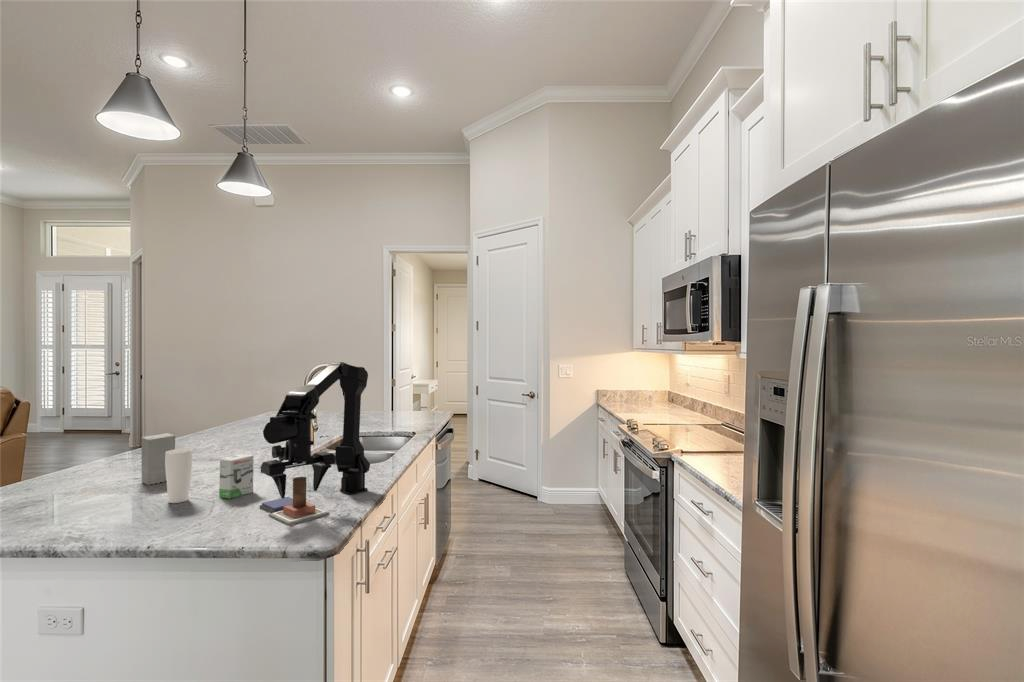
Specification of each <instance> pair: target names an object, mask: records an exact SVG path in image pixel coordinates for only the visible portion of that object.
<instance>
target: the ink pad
mask: <svg viewBox="0 0 1024 682" xmlns="http://www.w3.org/2000/svg"><path fill="white" fill-rule="evenodd" d="M290 504H293V497H290V496H285V498H284V499H283V498H281V497H280V498H276V499H273V500H268V501H263V502H261V504H260V505H259V509H261V510H263V511H265V512H268V513H269V512H270V513H269V514H271V513H275V512H279V511H283V506H286V505H290Z"/></svg>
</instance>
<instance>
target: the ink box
mask: <svg viewBox="0 0 1024 682" xmlns="http://www.w3.org/2000/svg"><path fill="white" fill-rule="evenodd" d="M218 483H219V484H218V485H219V489H218V490H219V491H218V493H219V494H218V497H219V498H222V499H223V498H224V499H229V500H230V499H231V498H232V499H235V498H238V497H240V496H241V497H242V496H244V494H245V495H248V494H251V493H253V492H254V455H250V454H245V453H243V454H241V453H240V454H238V455H236V454H235V455H231V456H226V457H221V458H220V460H219V482H218ZM234 497H235V498H234Z"/></svg>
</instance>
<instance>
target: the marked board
mask: <svg viewBox="0 0 1024 682" xmlns="http://www.w3.org/2000/svg"><path fill="white" fill-rule="evenodd" d="M329 514H330V512H329V511H327V510H324V509H322V508H319V507H317V506H315V513H312V514H309V515H305V516H301V517H297V518H292V517H290V516H288V515H286V514H283V511H279V512H275V513H268V517H269V516H270V517H269V518H271V519H274V520H276V521H278V522H280V523H282V524H284V523H285V524H284V525H286V524H287V526H288V525H290V526H293V524H294V525H297V524H301V523H304V522H307V521H312V520H315V519H318V518H322V516H323V517H326V516H330V515H329ZM325 515H326V516H325ZM296 523H297V524H296Z"/></svg>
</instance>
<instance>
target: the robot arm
mask: <svg viewBox="0 0 1024 682" xmlns="http://www.w3.org/2000/svg"><path fill="white" fill-rule="evenodd" d="M368 379H369V373H368V371H367V370H366V368H365V367H363V366H355V365H351V364H348V363H346V362H341V361H340V362H339V361H337V362H336V361H332V362H330V363H329V364H328V365H327V367H325V369H324V370H322V371H321V372H320V373H318V374H317V376H315V377H313V379H312V380H310V381H309V382H308V383H307V384H305V385H302V386H299V387H296V388H294V389H292V390H290V391H289V392H287V393H286V395H285V397H284V400H283V402H281V406H280V407H279V409H278V411H277V413H276V416H270V417H269V422H267V423H266V424H265V426H264V428H263V431H262V435H263V438H264V440H265V441H266V442H267V443H268V444H271V445H274V444H278V445H274V446H271V457H272V460H266V461H263V462H262V464H261V465H260V473H261V474H263V475H265V476H267V477H271V478H272V479H273V481H274V483H275V485H276V488H277V491H278V493H279V495H280V498H283V499H284V498H285V497H286V490H287V489H286V486H287V474H286V473H284V472H286V470H287V469H288V470H289V469H293V468H298V467H303V466H308V465H311V467H312V469H313V478H312V481H313V482H312V485H313V488H312V489H313V491H314V492H317V491H318V490H319V487H320V484H321V483H322V481H323V479H324V477H325V475H326V473H327V472H328V470H329V469H330V468H332V465H336V466H337V467H336V468H337V472H339V473H342V477H341V479H340V480H341V481H340V483H341V484H340V489H339V491H340V492H342V493H346V494H348V495H354V494H357V493H362V492H365V491H368V490H369V489H368V488H367V487H366V482H365V481H366V473H368V472H369V471H370V469H371V463H370V462H369V460H368V459H367V457H365V450H364V449H365V448H364V446H363V445H362V442H361V441H360V430H361V429H360V426H361V423H360V422H361V403H362V402H361V400H362V394H363V393H364V390H365V389H366V388H367V384H368ZM338 380H339V386H340V388H341V390H342V392H343V394H344V400H343V401H344V404H343V405H344V406H343V408H344V409H343V423H342V424H343V425H342V426H343V428H342V429H343V430H342V440H341V442H340V443H339V445H336V446H335V451H334V452H335V453H333V452H329V451H320V452H315V453H313V455H312V446H313V445H314V440H312V420H316V419H317V416H316V414H314V413H313V411H314V409H315V408H316V407H317V405H318V404H319V402H320V397H321V396H322V395H323V394H324V393H325V392H326V391H327V390H329V388H330V387H331V386H333V385H334V384H335V383H336V382H338ZM283 442H285V446H284V447H282V445H280V444H279V443H283ZM277 458H278V459H277ZM353 493H354V494H353Z"/></svg>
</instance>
